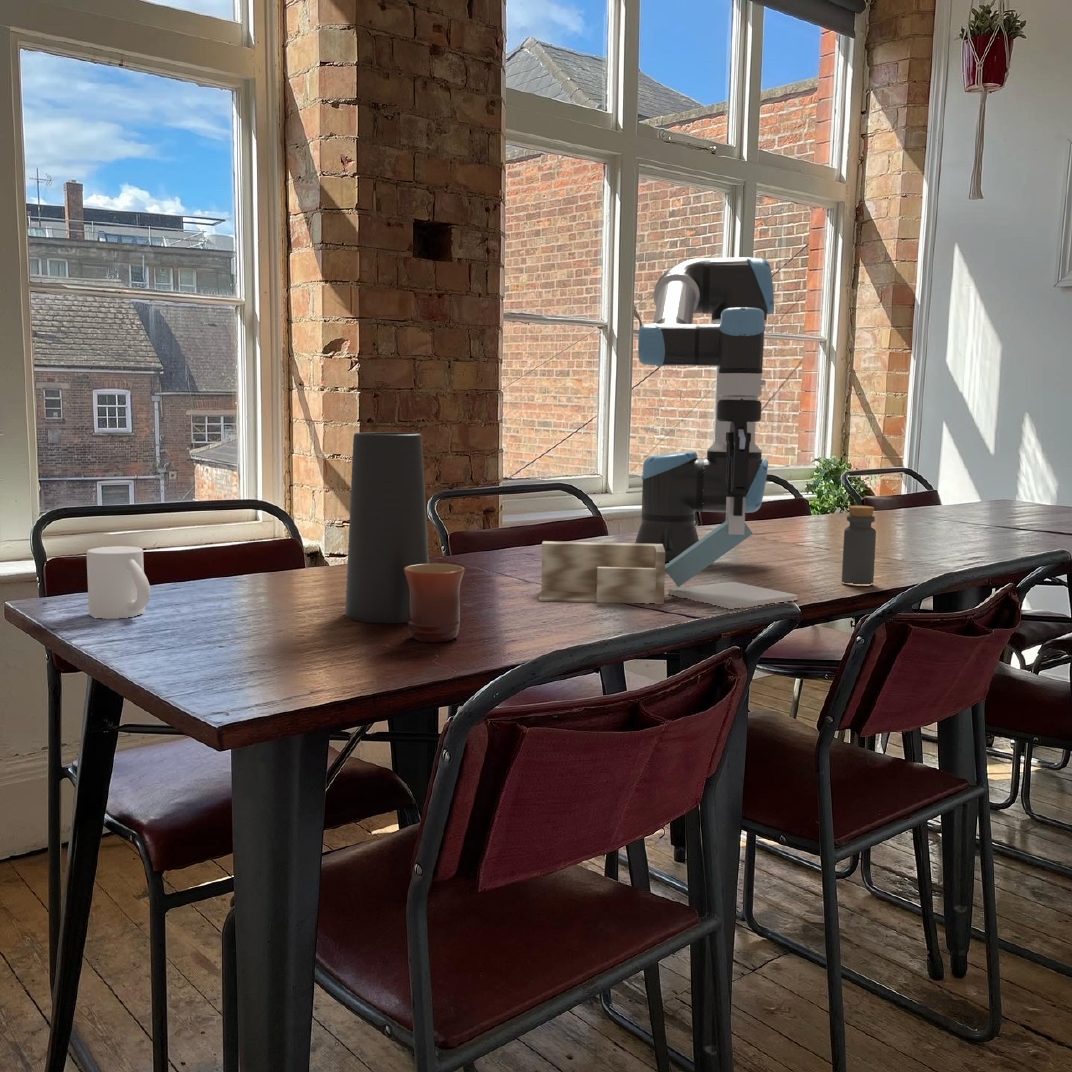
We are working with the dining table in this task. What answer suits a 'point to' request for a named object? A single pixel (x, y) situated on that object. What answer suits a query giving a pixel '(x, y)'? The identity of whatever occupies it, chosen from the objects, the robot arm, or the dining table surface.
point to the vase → (385, 525)
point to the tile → (732, 594)
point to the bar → (704, 553)
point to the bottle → (859, 546)
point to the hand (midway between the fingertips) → (734, 532)
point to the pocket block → (603, 572)
